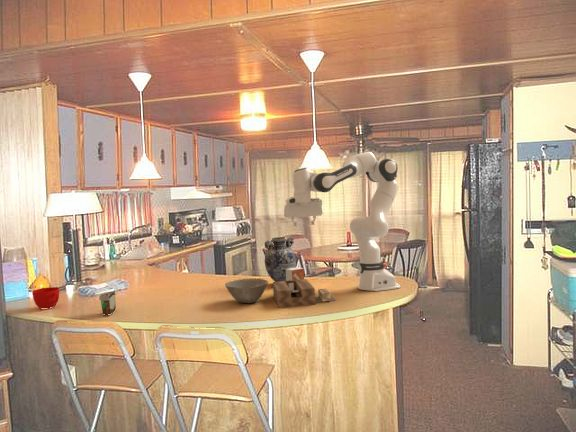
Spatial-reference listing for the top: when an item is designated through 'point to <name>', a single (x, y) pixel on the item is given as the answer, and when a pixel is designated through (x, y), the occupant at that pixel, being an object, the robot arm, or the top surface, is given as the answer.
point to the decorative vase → (279, 257)
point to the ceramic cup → (46, 297)
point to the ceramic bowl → (246, 289)
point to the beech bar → (324, 294)
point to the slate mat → (323, 301)
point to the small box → (294, 274)
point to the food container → (108, 302)
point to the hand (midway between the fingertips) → (303, 225)
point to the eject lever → (292, 288)
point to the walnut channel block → (297, 299)
